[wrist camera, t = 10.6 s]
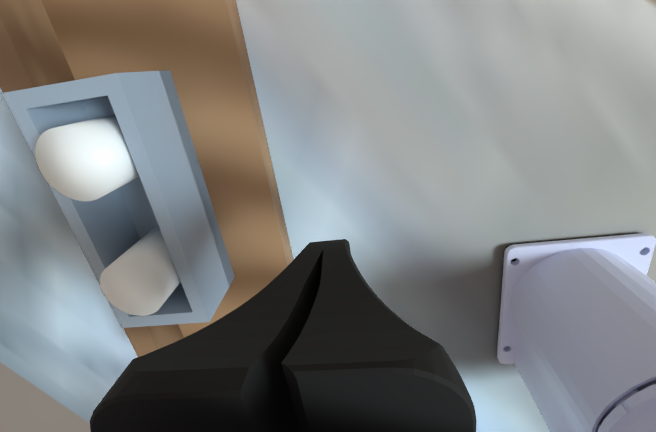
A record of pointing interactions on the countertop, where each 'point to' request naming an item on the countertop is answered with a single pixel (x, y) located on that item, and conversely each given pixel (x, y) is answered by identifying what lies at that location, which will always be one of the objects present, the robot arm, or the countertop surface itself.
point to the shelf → (197, 104)
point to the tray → (130, 192)
